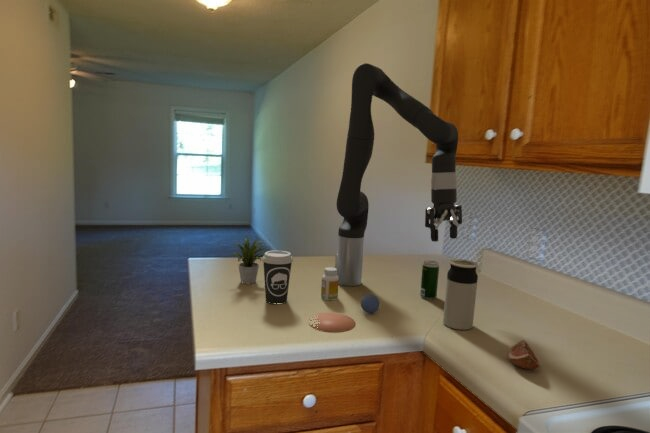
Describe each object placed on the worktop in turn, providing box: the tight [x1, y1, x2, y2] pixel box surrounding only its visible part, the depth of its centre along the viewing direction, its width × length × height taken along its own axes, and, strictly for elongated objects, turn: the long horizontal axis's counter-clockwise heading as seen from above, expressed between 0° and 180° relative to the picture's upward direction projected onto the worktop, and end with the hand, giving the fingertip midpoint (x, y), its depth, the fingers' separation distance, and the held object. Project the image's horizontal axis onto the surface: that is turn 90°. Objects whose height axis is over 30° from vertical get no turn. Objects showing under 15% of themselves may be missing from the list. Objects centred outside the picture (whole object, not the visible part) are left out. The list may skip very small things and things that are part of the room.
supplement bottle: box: [320, 266, 339, 301], centre depth 134 cm, size 5×5×10 cm
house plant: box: [231, 235, 271, 284], centre depth 145 cm, size 14×14×16 cm
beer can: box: [419, 259, 440, 301], centre depth 140 cm, size 5×5×12 cm
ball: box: [360, 294, 381, 315], centre depth 124 cm, size 6×6×6 cm
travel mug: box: [442, 258, 479, 331], centre depth 117 cm, size 8×8×18 cm
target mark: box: [308, 312, 356, 333], centre depth 116 cm, size 13×13×1 cm
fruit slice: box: [507, 339, 541, 370], centre depth 95 cm, size 8×7×5 cm
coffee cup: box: [261, 250, 294, 305], centre depth 129 cm, size 10×10×15 cm
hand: (444, 239), depth 131 cm, fingers open, 8 cm apart
